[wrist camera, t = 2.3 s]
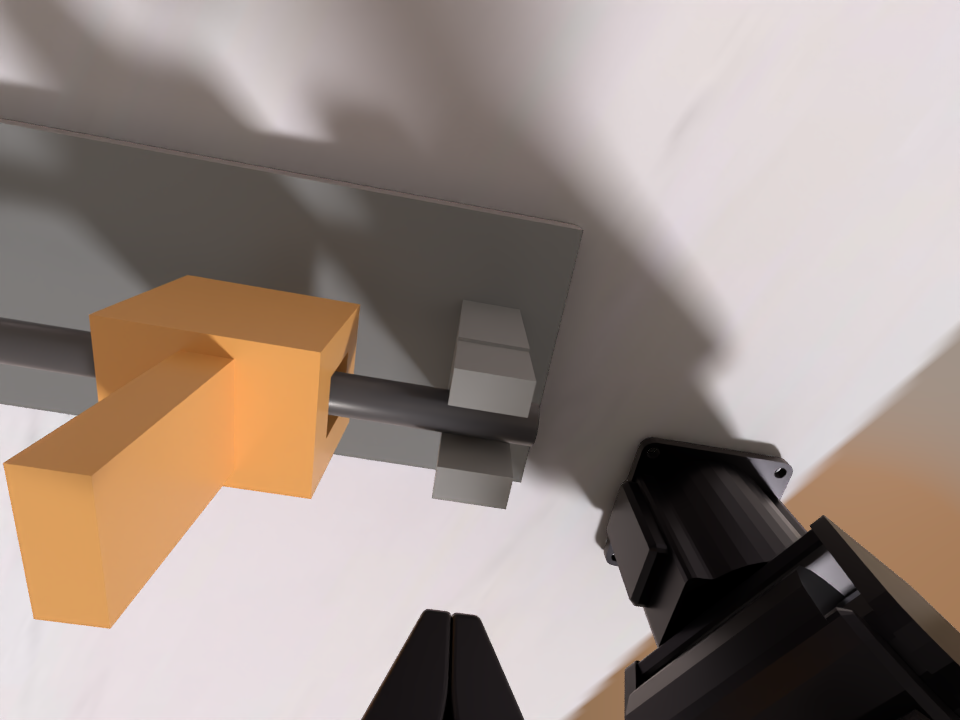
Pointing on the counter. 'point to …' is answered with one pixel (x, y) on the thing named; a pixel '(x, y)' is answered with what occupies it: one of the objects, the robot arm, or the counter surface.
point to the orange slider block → (176, 434)
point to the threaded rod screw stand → (292, 289)
